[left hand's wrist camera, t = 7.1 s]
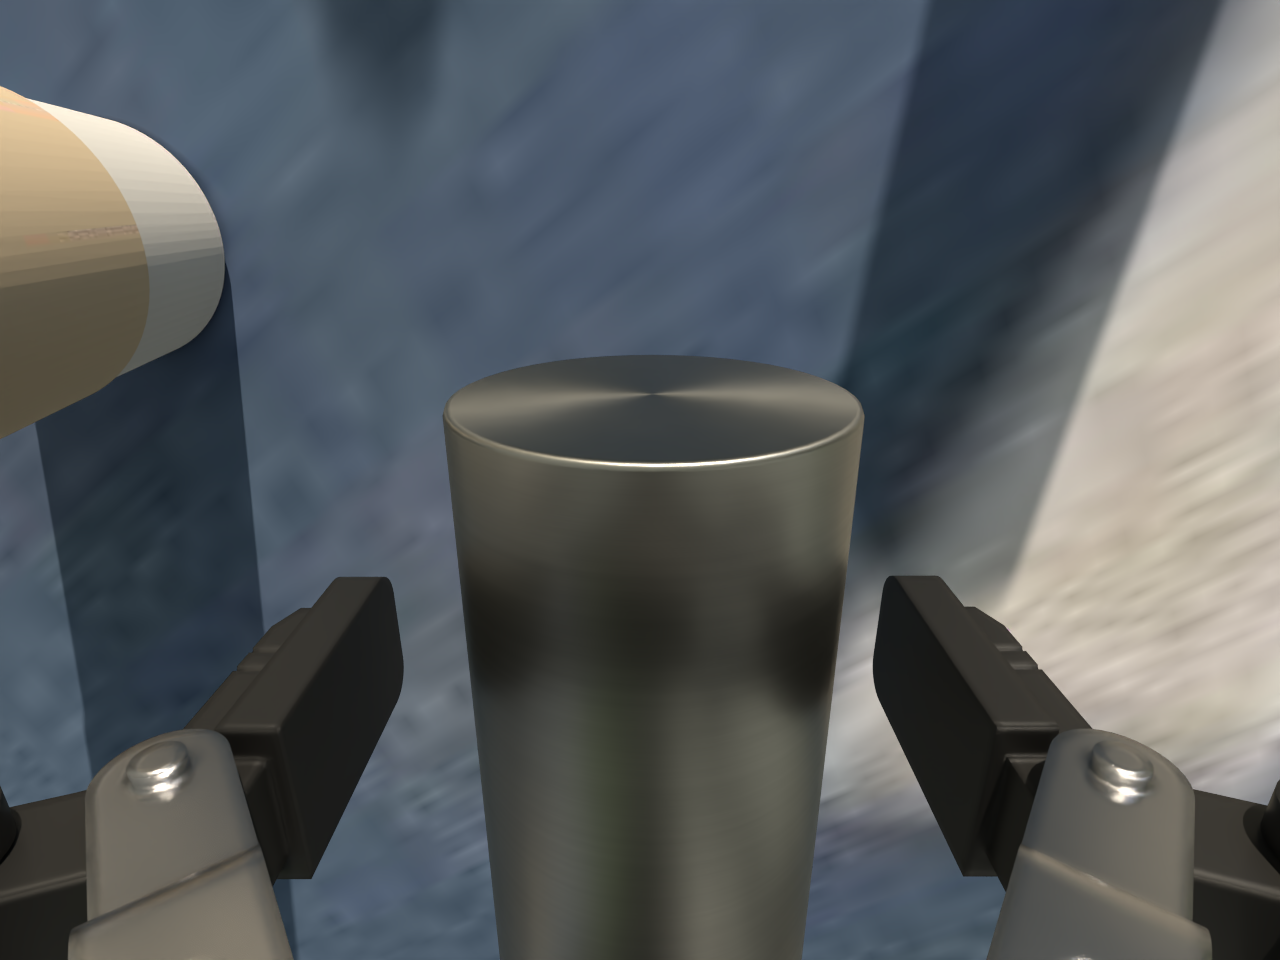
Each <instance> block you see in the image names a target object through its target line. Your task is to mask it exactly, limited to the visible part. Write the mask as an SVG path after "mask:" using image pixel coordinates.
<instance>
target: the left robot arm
mask: <svg viewBox="0 0 1280 960" xmlns="http://www.w3.org/2000/svg"><path fill="white" fill-rule="evenodd" d="M403 671H404V665H403V655H402V648H401V641H400V634H399V627H398V620H397V613H396V606H395V599H394V592H393V588H392V584H391V582H390V580H389V579H388V578H387V577H338V578H336V579H335V580H334V581H333V582H332V583H331V584H330V586H329V587H328V588H327V589H326V590H325V592H324V593H323V594H322V595H321V597H320V598H319V599H318V600H317V602H316V603H315V604H314V605H313V607H312V608H300V609H299V610H297V611H296V612H294V613H292V614H291V615H289V616H288V617H286V618H285V619H283V620H281V621H280V622H278V623H277V624H275V625H273V626H272V627H271V628H270V629H269V630H268V631H267V633H266V634H265V635H264V636H263V637H262V638H261V640H260V641H259V642H258V643H257V644H256V645H255V646H254V648H253V652H252V653H248V655H247V656H246V657H245V658H244V659H243V660H242V662H241V663H240V664H239V665H238V666H237V671H233V672H232V673H231V674H230V675H229V677H228V678H227V679H226V680H225V681H224V682H223V684H222V685H221V686H220V687H219V688H218V689H217V690H216V692H215V693H214V694H213V695H212V696H211V697H210V699H209V700H208V701H207V702H206V703H205V704H204V706H203V707H202V708H201V709H200V710H199V711H198V712H197V714H196V715H195V716H194V717H193V718H192V719H191V721H190V722H189V723H188V724H187V725H186V726H185V727H184V729H183V730H178V731H173V732H168V733H165V734H162V735H158V736H155V737H153V738H150V739H148V740H145V741H143V742H141V743H139V744H137V745H135V746H133V747H131V748H129V749H127V750H126V751H124V752H122V753H121V754H119V755H118V756H117V757H115V758H114V759H112V760H111V761H110V762H109V763H107V764H106V765H105V766H104V767H103V768H102V769H101V770H100V771H99V772H98V773H97V774H96V775H95V777H94V778H93V780H92V781H91V783H90V784H89V786H88V789H87V790H85V791H81V792H77V793H73V794H68V795H64V796H59V797H55V798H50V799H45V800H41V801H36V802H32V803H27V804H23V805H18V806H14V807H9V806H8V803H7V801H6V799H5V796H4V794H3V791H2V789H1V787H0V960H294V959H293V956H292V953H291V949H290V946H289V942H288V939H287V935H286V932H285V929H284V925H283V922H282V918H281V915H280V911H279V908H278V904H277V901H276V898H275V894H274V891H273V885H274V883H275V881H276V879H312V877H313V874H314V872H315V870H316V868H317V866H318V864H319V862H320V860H321V858H322V856H323V854H324V852H325V850H326V848H327V846H328V844H329V841H330V839H331V837H332V835H333V833H334V831H335V829H336V827H337V825H338V823H339V821H340V819H341V817H342V815H343V813H344V810H345V808H346V806H347V804H348V802H349V800H350V798H351V796H352V794H353V792H354V790H355V788H356V786H357V784H358V782H359V780H360V777H361V775H362V773H363V771H364V769H365V767H366V765H367V763H368V761H369V759H370V757H371V755H372V753H373V751H374V749H375V746H376V744H377V742H378V740H379V738H380V736H381V734H382V732H383V730H384V728H385V726H386V724H387V722H388V720H389V718H390V715H391V713H392V711H393V709H394V707H395V705H396V703H397V701H398V699H399V696H400V692H401V688H402V682H403ZM873 678H874V685H875V689H876V693H877V696H878V699H879V701H880V703H881V705H882V707H883V709H884V712H885V714H886V716H887V718H888V720H889V722H890V724H891V726H892V728H893V730H894V732H895V735H896V737H897V739H898V741H899V743H900V745H901V747H902V749H903V751H904V753H905V755H906V758H907V760H908V762H909V764H910V766H911V768H912V770H913V772H914V774H915V776H916V778H917V781H918V783H919V785H920V787H921V789H922V791H923V793H924V795H925V797H926V799H927V801H928V804H929V806H930V808H931V810H932V812H933V814H934V816H935V818H936V820H937V822H938V824H939V827H940V829H941V831H942V833H943V835H944V837H945V839H946V841H947V843H948V845H949V847H950V850H951V852H952V854H953V856H954V858H955V860H956V862H957V864H958V866H959V868H960V870H961V873H962V875H963V876H998V878H999V880H1000V882H1001V884H1002V886H1003V888H1004V889H1005V891H1006V894H1005V898H1004V901H1003V904H1002V908H1001V911H1000V915H999V918H998V922H997V925H996V929H995V932H994V935H993V939H992V942H991V946H990V949H989V953H988V956H987V959H986V960H1280V780H1279V781H1278V782H1277V785H1276V787H1275V789H1274V792H1273V794H1272V797H1271V799H1270V801H1269V804H1268V806H1266V805H1262V804H1257V803H1253V802H1248V801H1244V800H1239V799H1235V798H1230V797H1226V796H1221V795H1217V794H1212V793H1208V792H1203V791H1199V790H1194V789H1192V786H1191V784H1190V783H1189V781H1188V780H1187V778H1186V777H1185V775H1184V774H1183V773H1182V772H1181V771H1180V770H1179V769H1178V768H1177V767H1176V766H1175V765H1174V764H1173V763H1171V762H1170V761H1169V760H1168V759H1166V758H1165V757H1163V756H1162V755H1161V754H1159V753H1158V752H1156V751H1154V750H1153V749H1151V748H1149V747H1147V746H1145V745H1143V744H1141V743H1139V742H1137V741H1135V740H1132V739H1130V738H1127V737H1125V736H1122V735H1118V734H1115V733H1112V732H1107V731H1102V730H1096V729H1092V728H1091V727H1090V725H1089V724H1088V723H1087V722H1086V721H1085V720H1084V718H1083V717H1082V716H1081V715H1080V714H1079V713H1078V711H1077V710H1076V709H1075V708H1074V707H1073V706H1072V704H1071V703H1070V702H1069V701H1068V700H1067V699H1066V697H1065V696H1064V695H1063V694H1062V693H1061V691H1060V690H1059V689H1058V688H1057V687H1056V686H1055V684H1054V683H1053V682H1052V681H1051V680H1050V679H1049V677H1048V676H1047V675H1046V674H1045V673H1044V672H1043V670H1038V665H1037V663H1036V662H1035V661H1034V660H1033V659H1032V658H1031V656H1030V655H1029V654H1028V653H1027V652H1026V651H1023V650H1022V646H1021V645H1020V644H1019V642H1018V641H1017V640H1016V639H1015V638H1014V637H1013V635H1012V634H1011V633H1010V632H1009V631H1008V630H1007V628H1006V627H1005V626H1004V625H1003V624H1001V623H999V622H998V621H996V620H995V619H993V618H992V617H990V616H988V615H987V614H985V613H984V612H982V611H981V610H979V609H977V608H976V607H964V606H963V605H962V603H961V602H960V601H959V600H958V598H957V597H956V596H955V595H954V593H953V592H952V591H951V590H950V588H949V587H948V586H947V585H946V583H945V582H944V581H943V580H942V579H941V578H940V577H939V576H889V577H888V578H887V579H886V581H885V584H884V587H883V593H882V600H881V607H880V614H879V621H878V628H877V635H876V642H875V649H874V656H873Z"/></svg>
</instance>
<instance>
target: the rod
mask: <svg viewBox="0 0 1280 960" xmlns="http://www.w3.org/2000/svg"><path fill="white" fill-rule="evenodd" d="M864 417H865V415H864V412H863V409H862V406H861V403H860V402H859V401H858V399H857V398H856V397H855V396H854V395H853V394H851V393H850V392H849V391H847V390H846V389H844V388H842V387H840V386H838V385H836V384H834V383H832V382H829V381H827V380H824V379H822V378H819V377H816V376H813V375H810V374H807V373H804V372H800V371H796V370H792V369H788V368H784V367H779V366H774V365H769V364H762V363H756V362H750V361H742V360H734V359H724V358H714V357H699V356H678V355H625V356H604V357H590V358H579V359H570V360H562V361H554V362H548V363H541V364H535V365H530V366H525V367H521V368H516V369H512V370H508V371H504V372H501V373H498V374H495V375H491V376H488V377H486V378H483V379H481V380H478V381H476V382H473V383H471V384H469V385H467V386H465V387H464V388H462V389H460V390H459V391H457V392H456V393H455V394H453V395H452V396H451V397H450V399H449V400H448V401H447V403H446V405H445V408H444V412H443V424H444V433H445V443H446V452H447V462H448V471H449V481H450V490H451V500H452V509H453V518H454V528H455V537H456V547H457V556H458V566H459V575H460V585H461V594H462V604H463V613H464V622H465V632H466V641H467V651H468V660H469V670H470V679H471V689H472V698H473V708H474V717H475V726H476V736H477V745H478V755H479V764H480V774H481V783H482V793H483V802H484V812H485V821H486V831H487V840H488V849H489V859H490V868H491V878H492V887H493V897H494V906H495V916H496V925H497V935H498V944H499V953H500V960H801V959H802V951H803V942H804V934H805V925H806V916H807V908H808V899H809V891H810V882H811V873H812V865H813V856H814V848H815V839H816V830H817V822H818V813H819V804H820V796H821V787H822V779H823V770H824V761H825V753H826V744H827V736H828V727H829V718H830V710H831V701H832V693H833V684H834V675H835V667H836V658H837V649H838V641H839V632H840V624H841V615H842V606H843V598H844V589H845V581H846V572H847V563H848V555H849V546H850V538H851V529H852V520H853V512H854V503H855V494H856V486H857V477H858V469H859V460H860V451H861V443H862V434H863V426H864Z"/></svg>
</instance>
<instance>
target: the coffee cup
mask: <svg viewBox="0 0 1280 960" xmlns="http://www.w3.org/2000/svg"><path fill="white" fill-rule="evenodd" d="M224 274H225V259H224V249H223V243H222V238H221V234H220V230H219V227H218V224H217V221H216V219H215V216H214V213H213V211H212V209H211V207H210V205H209V203H208V201H207V199H206V197H205V195H204V194H203V192H202V190H201V189H200V187H199V186H198V184H197V183H196V181H195V180H194V179H193V177H192V176H191V175H190V174H189V172H188V171H187V170H186V169H185V168H184V166H183V165H182V164H181V163H180V162H179V161H178V160H177V159H176V158H175V157H174V156H173V155H172V154H171V153H169V152H168V151H167V150H166V149H165V148H163V147H162V146H161V145H159V144H158V143H157V142H155V141H154V140H152V139H151V138H149V137H148V136H146V135H144V134H143V133H141V132H139V131H137V130H135V129H133V128H131V127H128V126H126V125H124V124H121V123H118V122H115V121H112V120H108V119H104V118H100V117H97V116H93V115H89V114H85V113H81V112H77V111H73V110H69V109H66V108H62V107H58V106H54V105H50V104H46V103H42V102H38V101H35V100H31V99H27V98H24V97H22V96H20V95H18V94H16V93H14V92H12V91H10V90H8V89H6V88H3V87H1V86H0V439H1V438H4V437H6V436H8V435H10V434H12V433H14V432H16V431H18V430H20V429H22V428H24V427H26V426H28V425H30V424H32V423H34V422H36V421H38V420H40V419H42V418H44V417H47V416H49V415H51V414H53V413H55V412H57V411H59V410H61V409H63V408H65V407H67V406H69V405H71V404H73V403H75V402H77V401H79V400H81V399H83V398H85V397H87V396H90V395H92V394H93V393H95V392H97V391H99V390H100V389H102V388H103V387H105V386H106V385H107V384H109V383H110V382H111V381H112V380H113V379H115V378H116V377H118V376H120V375H122V374H124V373H127V372H129V371H131V370H133V369H135V368H137V367H139V366H142V365H144V364H146V363H148V362H150V361H152V360H154V359H157V358H159V357H161V356H163V355H165V354H167V353H170V352H172V351H174V350H176V349H178V348H180V347H182V346H184V345H185V344H187V343H188V342H190V341H191V340H192V339H194V338H195V337H196V336H197V335H198V334H199V333H200V332H201V331H202V330H203V329H204V327H205V326H206V325H207V324H208V322H209V321H210V319H211V318H212V316H213V314H214V312H215V310H216V308H217V305H218V303H219V300H220V297H221V293H222V289H223V283H224Z"/></svg>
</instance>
